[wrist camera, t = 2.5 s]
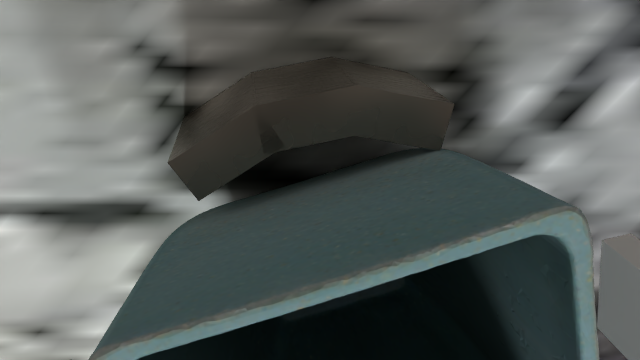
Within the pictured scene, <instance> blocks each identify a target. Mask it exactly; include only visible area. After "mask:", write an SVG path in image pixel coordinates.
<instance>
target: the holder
mask: <svg viewBox="0 0 640 360" xmlns="http://www.w3.org/2000/svg"><path fill="white" fill-rule="evenodd" d="M453 108H454V103H452V102H451V101H449V100H448V99H446V98H445V97H443V96H442V95H440V94H439V93H437V92H436V91H434V90H433V89H431V88H430V87H428V86H427V85H425V84H424V83H422V82H421V81H419V80H418V79H416V78H415V77H413V76H412V75H411V74H409V73H407V72H402V71H397V70H393V69H388V68H383V67H378V66H373V65H368V64H363V63H358V62H353V61H348V60H343V59H338V58H333V57H329V58H324V59H318V60H313V61H308V62H303V63H298V64H293V65H288V66H283V67H278V68H272V69H267V70H262V71H257V72H252V73H251V74H249V75H248V76H246V77H245V78H243V79H241V80H240V81H238V82H237V83H235V84H234V85H232V86H231V87H229V88H228V89H226V90H225V91H223V92H222V93H220V94H219V95H217V96H216V97H214V98H213V99H211V100H210V101H208V102H206V103H205V104H203V105H202V106H200V107H199V108H197V109H196V110H194V111H193V112H191V113H190V114H188V115H187V116H185V117H184V119H183V122H182V125H181V127H180V130H179V133H178V136H177V138H176V141H175V144H174V147H173V149H172V152H171V155H170V157H169V160H168V164H169V165H170V166H171V168H172V169H173V170H174V171H175V172H176V174H177V175H178V176H179V177H180V179H181V180H182V181H183V182H184V184H185V185H186V186H187V187H188V188H189V190H190V191H191V192H192V193H193V195H194V196H195V197H196V198H197V200H198V201H200V200H201V199H203V198H204V197H206V196H207V195H209V194H211V193H212V192H214V191H215V190H217V189H218V188H220V187H222V186H223V185H225V184H226V183H228V182H229V181H231V180H233V179H234V178H236V177H237V176H239V175H240V174H242V173H244V172H245V171H247V170H248V169H250V168H251V167H253V166H254V165H256V164H258V163H259V162H261V161H262V160H264V159H265V158H267V157H269V156H270V155H272V154H273V153H275V152H278V151H283V150H288V149H293V148H298V147H302V146H307V145H312V144H317V143H322V142H327V141H332V140H337V139H342V138H346V137H351V136H359V137H365V138H370V139H376V140H382V141H388V142H393V143H399V144H405V145H411V146H416V147H422V148H428V149H434V150H439V151H440V150H441V147H442V143H443V140H444V137H445V134H446V130H447V127H448V124H449V121H450V117H451V114H452V111H453Z"/></svg>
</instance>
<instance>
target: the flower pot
mask: <svg viewBox="0 0 640 360" xmlns="http://www.w3.org/2000/svg"><path fill="white" fill-rule="evenodd" d="M593 277H594V269H593V243H592V238H591V234H590V229H589V226H588V222H587V220H586V217H585V216H584V215H583V213H582V211H581V210H580V209H579V208H577V207H575V206H572V205H570V204H568V203H566V202H564V201H562V200H560V199H557V198H555V197H553V196H551V195H549V194H547V193H545V192H543V191H541V190H539V189H537V188H535V187H533V186H531V185H529V184H527V183H525V182H523V181H521V180H519V179H516V178H514V177H512V176H510V175H508V174H506V173H504V172H501V171H499V170H497V169H494V168H492V167H490V166H488V165H486V164H484V163H482V162H480V161H478V160H475V159H473V158H470V157H468V156H466V155H463V154H460V153H457V152H454V151H450V150H445V149H441V150H440V151H439V150H434V149H428V148H416V149H409V150H403V151H399V152H395V153H391V154H388V155H384V156H381V157H378V158H375V159H372V160H368V161H365V162H362V163H359V164H356V165H353V166H350V167H347V168H343V169H340V170H337V171H334V172H330V173H327V174H324V175H321V176H317V177H314V178H311V179H308V180H305V181H301V182H298V183H295V184H292V185H288V186H285V187H282V188H278V189H275V190H272V191H268V192H265V193H262V194H258V195H255V196H252V197H248V198H245V199H241V200H238V201H234V202H231V203H227V204H224V205H221V206H219V207H216V208H213V209H210V210H208V211H206V212H203V213H201V214H199V215H197V216H195V217H194V218H192V219H190V220H188V221H187V222H186V223H184V224H183V225H181V226H180V227H179V228H178V229H176V230H175V231H174V232H173V233H172V234H171V235H170V236H169V237H168V238H167V239H166V240H165V241H164V243H163V244H162V245H161V247H160V248H159V249H158V251H157V252H156V253H155V255H154V256H153V258H152V259H151V261H150V262H149V264H148V265H147V267H146V269H145V270H144V272H143V273H142V275H141V276H140V278H139V279H138V281H137V282H136V284H135V286H134V288H133V289H132V291H131V292H130V294H129V296H128V297H127V299H126V301H125V302H124V304H123V305H122V307H121V309H120V310H119V312H118V313H117V315H116V316H115V318H114V320H113V321H112V323H111V325H110V326H109V328H108V329H107V331H106V333H105V334H104V336H103V338H102V339H101V341H100V343H99V344H98V346H97V348H96V349H95V351H94V352H93V354H92V355H91V356H90V358H89V360H599V348H598V336H597V322H596V310H595V294H594V278H593Z"/></svg>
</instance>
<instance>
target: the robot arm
mask: <svg viewBox="0 0 640 360" xmlns="http://www.w3.org/2000/svg"><path fill="white" fill-rule="evenodd" d="M597 328H598V329H599V330H600V331H601V332H602V333H603V334H604V335H605V336H606V337H607V338H608V339H609V341H610V342H611V343H612V344H613V345H614V346H615V347H616V348H617V349H618V350H619V351H620V352H621V353H622V354H623V355H624V356H625V357H626V358H627V359H628V360H640V240H639V239H638V238H636V237H635V236H634V235H632V234H626V235H622V236H618V237H613V238H609V239H604V240H602V247H601V265H600V283H599V301H598V318H597ZM71 360H72V359H71Z"/></svg>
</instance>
